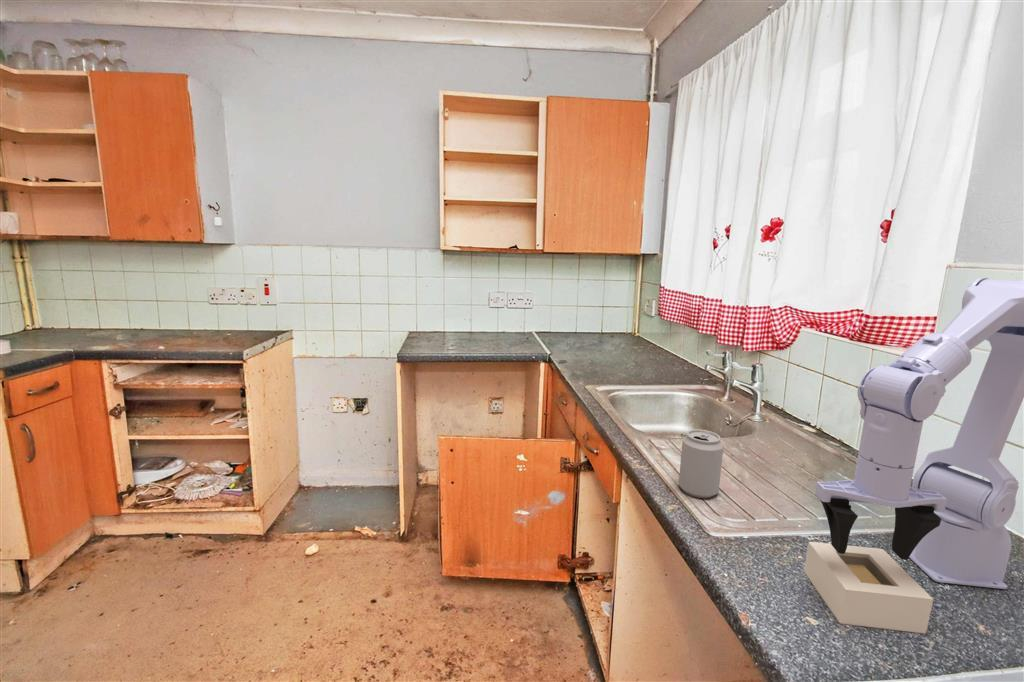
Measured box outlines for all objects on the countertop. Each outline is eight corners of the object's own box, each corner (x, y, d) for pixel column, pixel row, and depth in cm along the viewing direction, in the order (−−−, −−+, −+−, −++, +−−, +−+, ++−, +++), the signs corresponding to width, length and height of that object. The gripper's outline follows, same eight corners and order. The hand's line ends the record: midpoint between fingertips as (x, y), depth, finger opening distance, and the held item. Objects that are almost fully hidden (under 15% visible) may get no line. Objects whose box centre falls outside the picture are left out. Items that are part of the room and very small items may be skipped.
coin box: (876, 579, 68) (882, 548, 67) (925, 633, 58) (933, 599, 57) (803, 571, 70) (808, 541, 69) (839, 623, 60) (845, 589, 59)
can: (671, 490, 93) (676, 433, 91) (688, 477, 98) (693, 424, 96) (708, 504, 88) (715, 445, 85) (724, 490, 93) (730, 434, 90)
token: (859, 590, 66) (863, 565, 65) (877, 611, 62) (882, 585, 61) (840, 588, 66) (844, 563, 65) (857, 609, 62) (862, 583, 62)
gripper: (925, 450, 63) (907, 539, 65) (810, 442, 65) (797, 529, 67) (967, 474, 56) (945, 573, 59) (837, 464, 58) (821, 560, 61)
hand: (868, 552), depth 63 cm, fingers open, 7 cm apart
